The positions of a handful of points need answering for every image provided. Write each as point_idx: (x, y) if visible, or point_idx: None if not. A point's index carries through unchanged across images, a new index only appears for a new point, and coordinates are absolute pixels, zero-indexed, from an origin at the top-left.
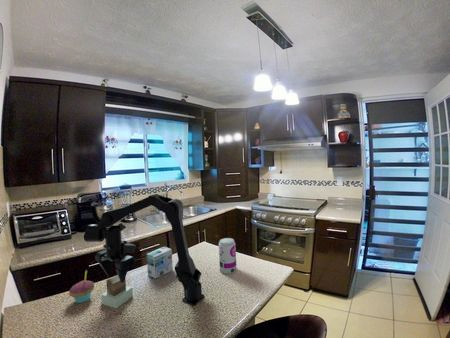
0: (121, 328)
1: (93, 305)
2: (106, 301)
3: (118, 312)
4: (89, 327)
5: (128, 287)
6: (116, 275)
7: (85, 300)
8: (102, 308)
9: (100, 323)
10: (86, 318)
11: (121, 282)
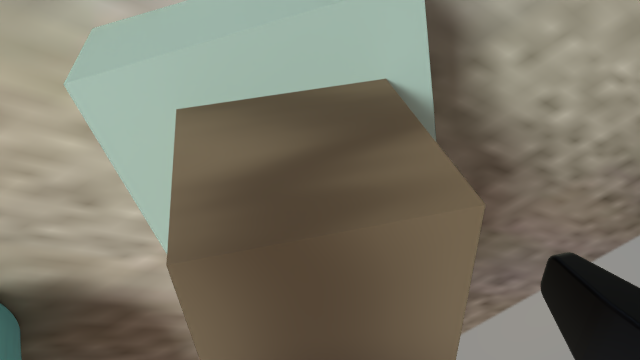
0: (625, 215)
1: (163, 282)
2: None
3: (471, 176)
4: None
5: (366, 25)
6: (187, 299)
7: (17, 327)
8: None
9: None
10: None
11: (553, 297)
